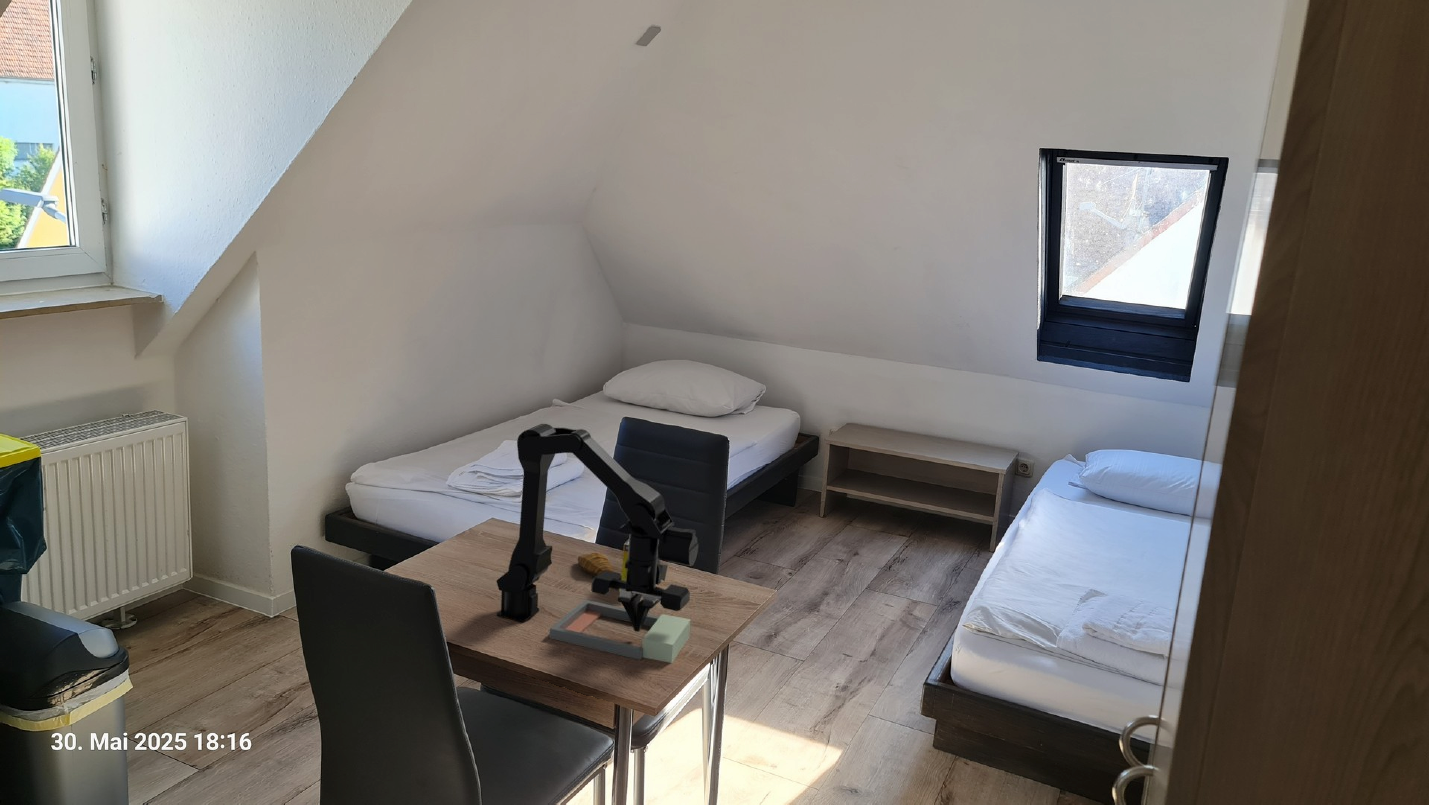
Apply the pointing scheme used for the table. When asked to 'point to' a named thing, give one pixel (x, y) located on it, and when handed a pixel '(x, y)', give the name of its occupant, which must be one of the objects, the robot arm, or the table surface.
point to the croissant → (594, 563)
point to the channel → (585, 616)
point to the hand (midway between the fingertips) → (637, 630)
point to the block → (666, 638)
